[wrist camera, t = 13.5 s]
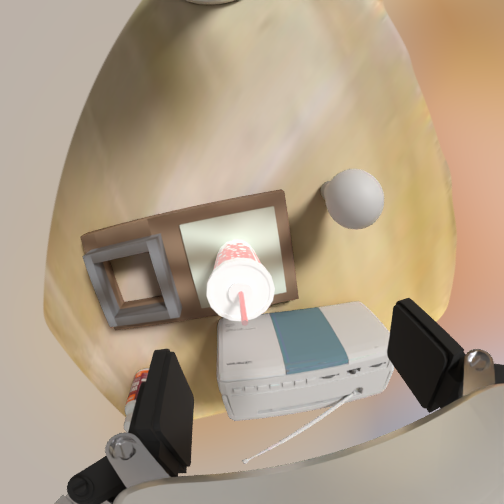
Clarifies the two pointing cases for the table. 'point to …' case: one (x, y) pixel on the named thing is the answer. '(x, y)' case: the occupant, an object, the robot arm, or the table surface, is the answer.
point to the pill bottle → (134, 396)
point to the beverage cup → (239, 283)
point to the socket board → (190, 256)
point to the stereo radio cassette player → (301, 362)
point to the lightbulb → (353, 198)
